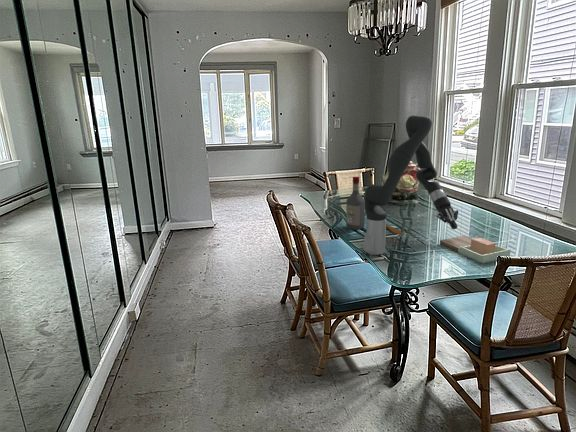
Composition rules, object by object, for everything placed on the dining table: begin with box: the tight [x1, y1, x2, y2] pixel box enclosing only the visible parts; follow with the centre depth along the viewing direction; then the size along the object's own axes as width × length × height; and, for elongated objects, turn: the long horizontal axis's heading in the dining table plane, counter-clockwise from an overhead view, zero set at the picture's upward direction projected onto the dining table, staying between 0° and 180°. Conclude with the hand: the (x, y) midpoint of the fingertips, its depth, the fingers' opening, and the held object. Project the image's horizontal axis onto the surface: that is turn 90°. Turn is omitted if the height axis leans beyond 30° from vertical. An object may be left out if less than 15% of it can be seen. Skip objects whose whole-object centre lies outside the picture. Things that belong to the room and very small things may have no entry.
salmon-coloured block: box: [470, 237, 497, 255], centre depth 178 cm, size 5×6×9 cm
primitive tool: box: [386, 223, 404, 235], centre depth 218 cm, size 19×6×4 cm, turn 25°
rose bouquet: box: [381, 161, 421, 206], centre depth 276 cm, size 26×29×30 cm
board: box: [439, 235, 474, 254], centre depth 189 cm, size 16×12×2 cm
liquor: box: [345, 176, 366, 231], centre depth 220 cm, size 9×9×30 cm
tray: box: [457, 244, 511, 265], centre depth 177 cm, size 16×15×4 cm
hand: (455, 228), depth 192 cm, fingers closed
